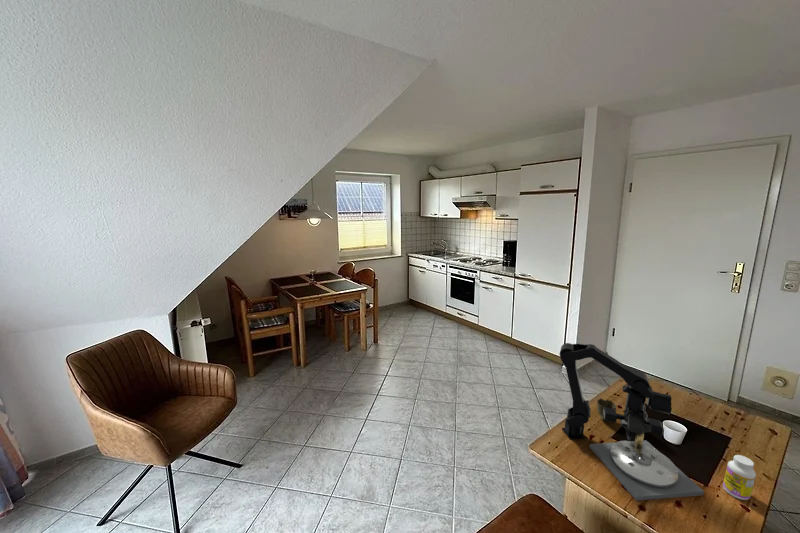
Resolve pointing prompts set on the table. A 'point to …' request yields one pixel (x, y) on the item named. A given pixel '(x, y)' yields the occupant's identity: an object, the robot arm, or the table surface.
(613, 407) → the cup
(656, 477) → the grey round piece
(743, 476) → the supplement bottle
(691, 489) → the plate
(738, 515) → the table surface
